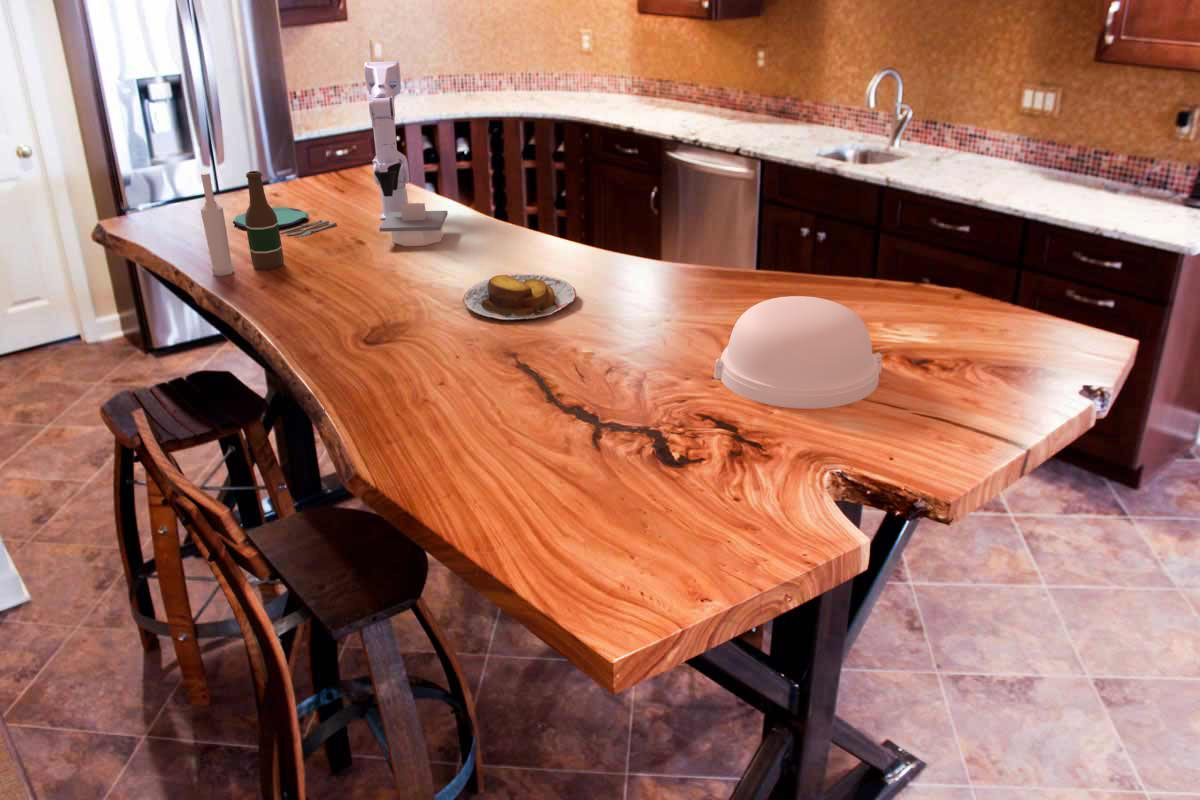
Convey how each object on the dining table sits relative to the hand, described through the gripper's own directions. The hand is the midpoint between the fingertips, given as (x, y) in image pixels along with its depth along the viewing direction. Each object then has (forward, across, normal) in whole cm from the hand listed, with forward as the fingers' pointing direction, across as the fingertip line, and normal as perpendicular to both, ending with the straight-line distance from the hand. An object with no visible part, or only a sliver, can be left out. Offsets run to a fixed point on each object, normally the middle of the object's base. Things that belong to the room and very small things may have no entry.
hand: (390, 193), depth 292 cm
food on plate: (+13, +63, +39) cm, 75 cm away
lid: (+6, +9, +7) cm, 13 cm away
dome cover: (+14, +106, +94) cm, 142 cm away
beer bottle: (+11, +30, -27) cm, 42 cm away
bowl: (+11, +9, +8) cm, 16 cm away
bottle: (+11, +35, -37) cm, 52 cm away
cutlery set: (+11, -8, -34) cm, 36 cm away
